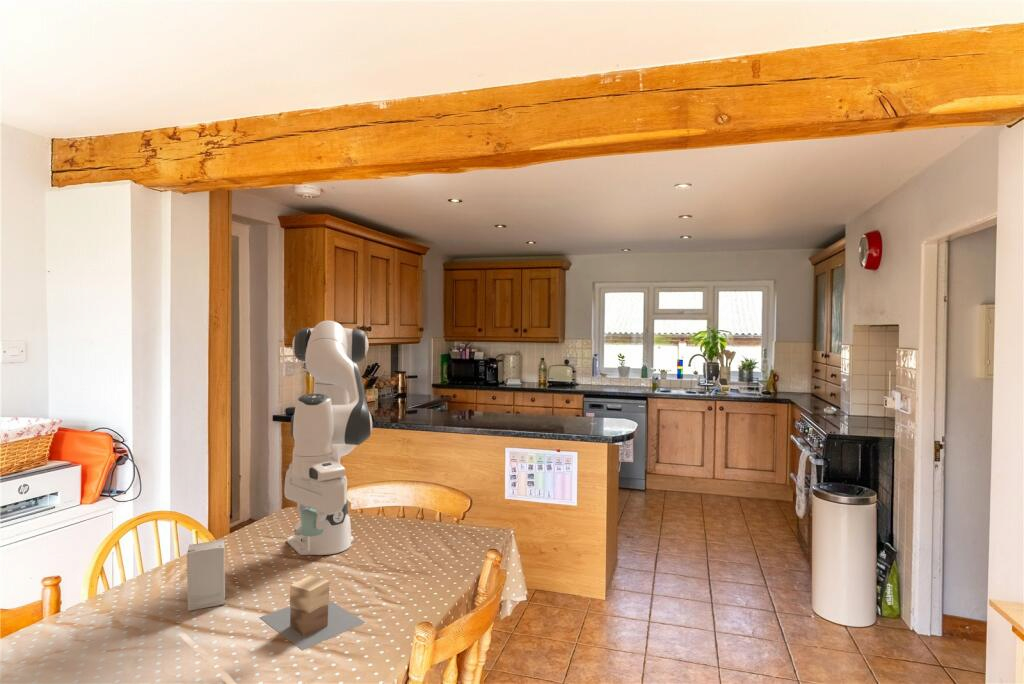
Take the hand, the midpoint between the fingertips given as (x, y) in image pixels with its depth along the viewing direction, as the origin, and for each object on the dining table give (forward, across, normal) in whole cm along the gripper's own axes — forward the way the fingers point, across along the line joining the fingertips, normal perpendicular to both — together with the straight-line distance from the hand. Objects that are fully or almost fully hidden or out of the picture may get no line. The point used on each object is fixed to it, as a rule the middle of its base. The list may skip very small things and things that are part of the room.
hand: (312, 525), depth 127 cm
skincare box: (+24, -30, -11) cm, 40 cm away
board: (+24, -2, +2) cm, 24 cm away
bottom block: (+23, 0, 0) cm, 23 cm away
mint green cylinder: (+2, 0, 0) cm, 2 cm away
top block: (+18, 0, 0) cm, 18 cm away
